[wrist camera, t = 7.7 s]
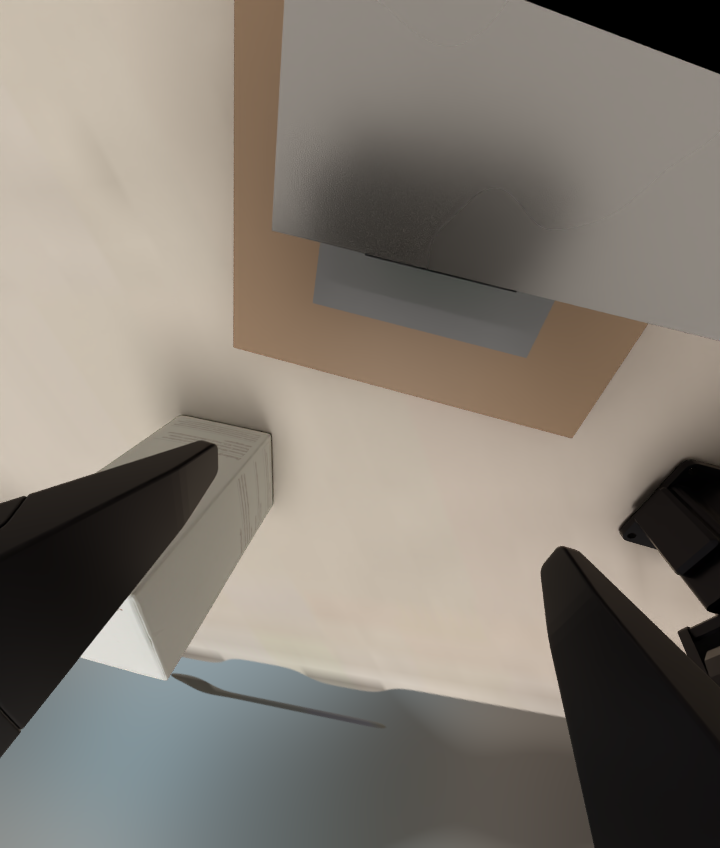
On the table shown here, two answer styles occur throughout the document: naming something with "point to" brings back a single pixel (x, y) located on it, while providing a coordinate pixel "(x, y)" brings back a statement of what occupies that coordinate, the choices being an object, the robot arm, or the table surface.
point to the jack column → (512, 145)
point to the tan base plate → (396, 293)
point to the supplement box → (190, 549)
